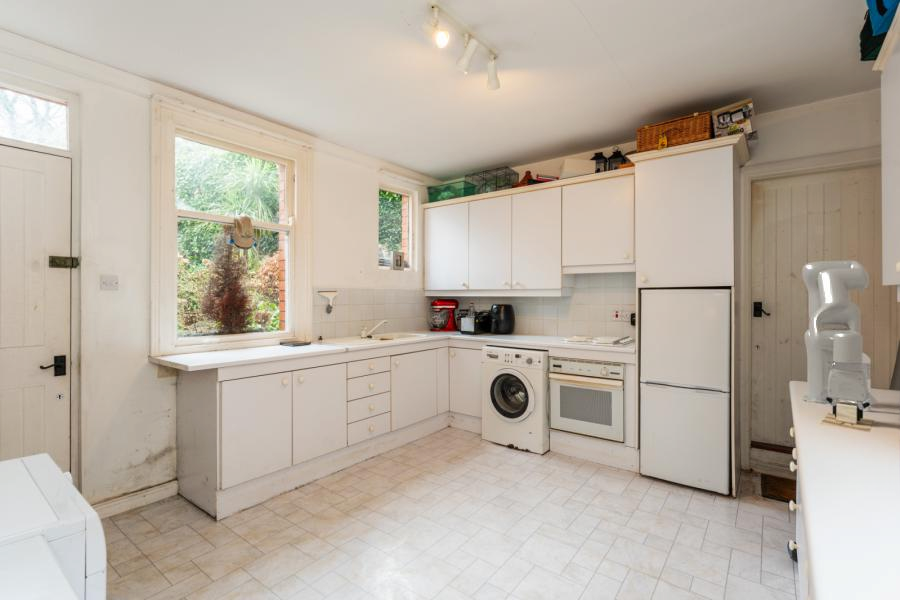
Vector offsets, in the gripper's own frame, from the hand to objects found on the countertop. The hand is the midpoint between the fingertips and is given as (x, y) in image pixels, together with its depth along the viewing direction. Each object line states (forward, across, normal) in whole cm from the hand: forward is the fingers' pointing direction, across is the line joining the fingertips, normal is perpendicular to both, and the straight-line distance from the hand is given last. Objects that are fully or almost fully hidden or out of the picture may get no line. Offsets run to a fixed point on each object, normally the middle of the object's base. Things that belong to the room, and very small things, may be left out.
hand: (847, 417), depth 148 cm
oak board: (+2, 0, 0) cm, 2 cm away
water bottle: (+2, +1, +24) cm, 24 cm away
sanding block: (+1, 0, 0) cm, 1 cm away
